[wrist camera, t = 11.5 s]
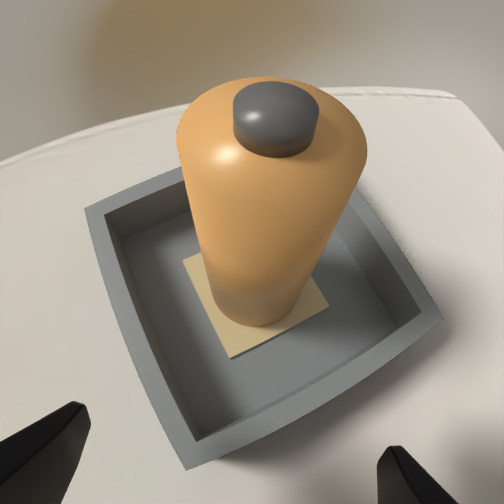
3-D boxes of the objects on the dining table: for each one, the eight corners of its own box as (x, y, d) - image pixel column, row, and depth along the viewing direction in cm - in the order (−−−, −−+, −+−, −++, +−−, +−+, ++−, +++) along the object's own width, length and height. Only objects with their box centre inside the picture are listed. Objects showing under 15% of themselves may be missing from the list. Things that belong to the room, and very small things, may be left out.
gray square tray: (408, 335, 18) (443, 318, 14) (197, 455, 15) (185, 470, 11) (294, 165, 23) (303, 125, 19) (107, 241, 20) (84, 208, 16)
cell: (314, 271, 18) (397, 101, 7) (270, 344, 16) (327, 229, 6) (242, 229, 19) (245, 41, 8) (193, 295, 17) (128, 128, 7)
